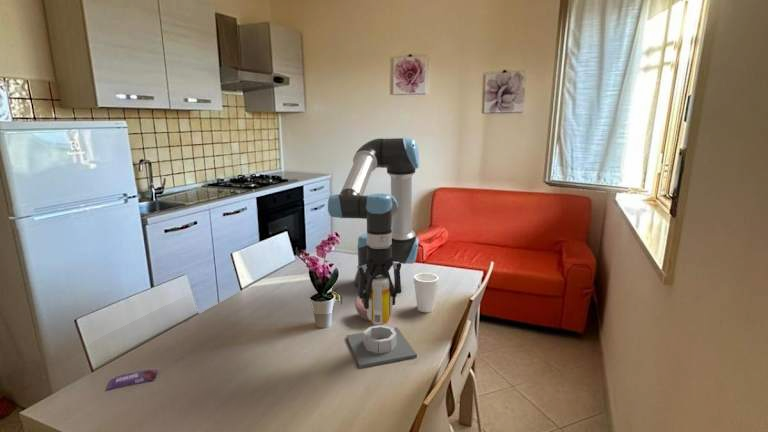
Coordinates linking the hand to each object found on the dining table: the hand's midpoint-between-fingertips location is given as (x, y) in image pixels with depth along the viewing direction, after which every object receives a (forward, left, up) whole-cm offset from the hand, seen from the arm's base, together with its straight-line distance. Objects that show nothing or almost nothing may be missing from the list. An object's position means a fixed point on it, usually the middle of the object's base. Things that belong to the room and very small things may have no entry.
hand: (379, 315), depth 126 cm
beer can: (0, 0, -2) cm, 2 cm away
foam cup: (-21, +25, -11) cm, 35 cm away
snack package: (-5, -71, -12) cm, 72 cm away
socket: (0, 0, -11) cm, 11 cm away
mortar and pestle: (-20, +3, -11) cm, 23 cm away
